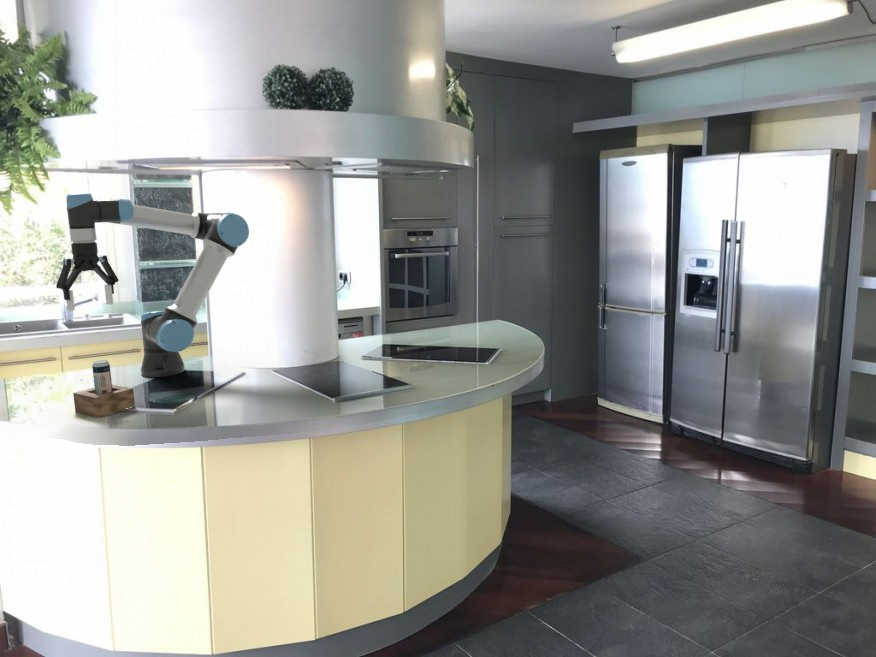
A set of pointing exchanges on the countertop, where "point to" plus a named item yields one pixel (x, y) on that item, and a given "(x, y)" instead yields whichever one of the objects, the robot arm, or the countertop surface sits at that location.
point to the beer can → (102, 377)
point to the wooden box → (103, 401)
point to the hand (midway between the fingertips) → (91, 307)
